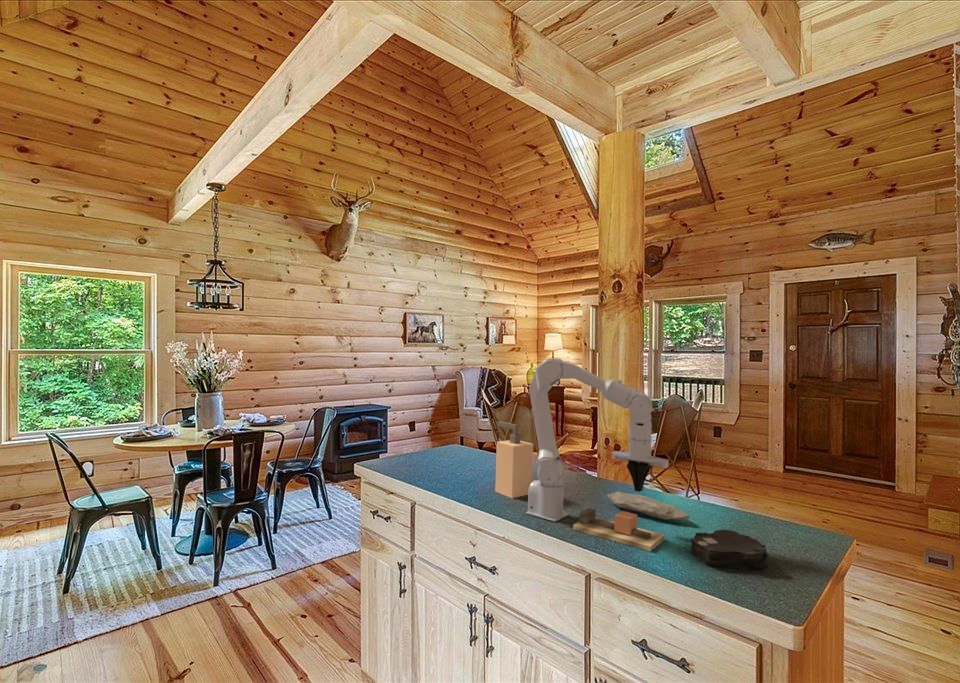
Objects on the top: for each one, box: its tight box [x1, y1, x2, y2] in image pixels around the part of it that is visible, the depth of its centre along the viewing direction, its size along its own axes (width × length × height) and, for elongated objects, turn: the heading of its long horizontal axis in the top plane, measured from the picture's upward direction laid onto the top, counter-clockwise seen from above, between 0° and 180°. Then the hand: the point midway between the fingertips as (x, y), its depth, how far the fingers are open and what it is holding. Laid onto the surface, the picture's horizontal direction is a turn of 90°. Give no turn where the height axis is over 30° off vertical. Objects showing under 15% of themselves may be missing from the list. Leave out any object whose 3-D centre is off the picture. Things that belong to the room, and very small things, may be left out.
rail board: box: [572, 507, 666, 552], centre depth 121 cm, size 20×10×4 cm, turn 51°
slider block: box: [614, 510, 638, 535], centre depth 120 cm, size 4×5×4 cm
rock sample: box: [690, 529, 769, 570], centre depth 109 cm, size 18×16×5 cm
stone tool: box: [606, 491, 690, 521], centre depth 139 cm, size 12×5×25 cm
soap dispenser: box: [494, 420, 534, 499], centre depth 157 cm, size 13×9×22 cm
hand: (638, 490), depth 126 cm, fingers closed
